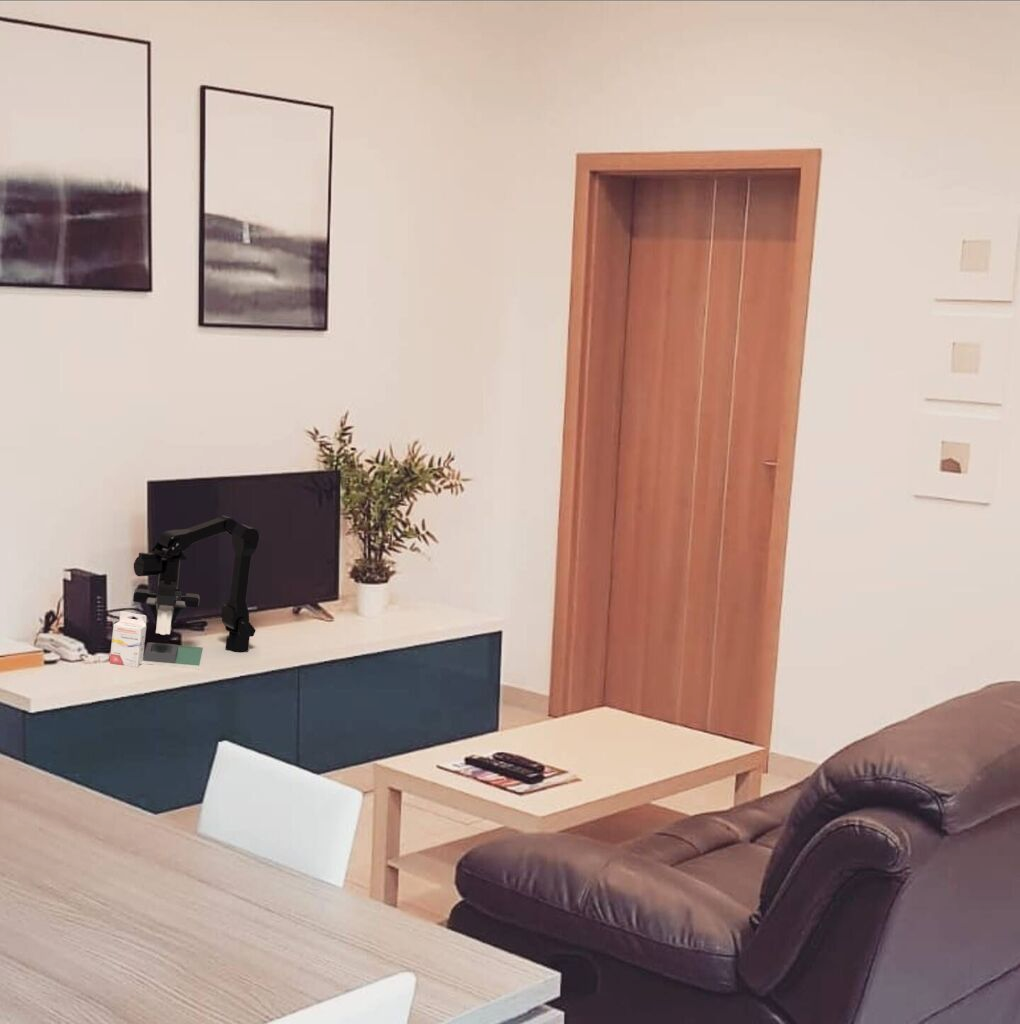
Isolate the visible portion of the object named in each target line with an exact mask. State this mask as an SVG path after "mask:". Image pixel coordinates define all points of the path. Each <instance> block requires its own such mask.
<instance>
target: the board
mask: <svg viewBox="0 0 1020 1024" xmlns="http://www.w3.org/2000/svg"><path fill="white" fill-rule="evenodd" d="M145 646H146V647H145V648H144V655H143V661H144V662H152V663H162V664H163V663H164V664H165V663H166V664H175V665H184V666H185V665H188V666H198V667H199V666H200V664H201V659H202V655H203V650H204V647H200V646H189V645H188V646H187V645H179V644H173V643H163V642H162V643H161V642H147V643H146V645H145ZM148 665H151V666H153V664H151V663H148Z"/></svg>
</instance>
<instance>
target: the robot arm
mask: <svg viewBox="0 0 1020 1024" xmlns="http://www.w3.org/2000/svg"><path fill="white" fill-rule="evenodd" d="M225 532H226V533H227V534H229V535H230V536H231V544H232V545H231V546H232V547H233V551H234V564H233V570H232V571H233V572H232V579H231V586H230V587H231V588H230V596H229V600H228V602H227V603H226V604H221V613H220V616H219V617H220V618H221V623H223V625H224V627H225V631H227V632H228V635H227V636H226V640H225V641H226V642H225V651H229V652H233V653H248V652H249V647H250V637H254V635H255V633H256V628H255V627H254V626H253V624H251V623H250V611H249V608H248V604H247V594H248V586H249V579H250V571H251V570H250V569H251V562H252V556H253V555H254V553H255V552H256V550H257V548H258V546H259V542H260V538H261V537H260V532H259V531H258V530H257V529H256V528H254V527H251V526H248V525H246V524H243V523H240V522H237V521H236V520H234V518H232V517H229V516H227V515H220V516H218V517H217V518H214V519H211V520H208V521H205V522H203V523H200V524H197V525H194V526H191V527H189V528H185V529H184V528H183V529H171V530H165V531H163V532H162V533H161V534H160V537H159V539H158V540H157V542H156V543H155V544H154V545H153V546H152V548H151V549H150V551H149V552H139V553H138V556H137V557H136V558H135V560H134V562H133V570H134V573H135V575H136V577H153V576H154V577H156V576H158V580H157V587H156V593H153V592H150V589H145V588H136V589H135V590H134V593H133V595H132V596H133V597H132V602H133V603H143V604H145V605H146V606H148V607H149V608H150V609H151V612H152V615H153V620H154V624H155V625H154V626H157V616H158V609H159V606H160V605H164V606H173V605H174V603H175V605H174V608H173V617H172V621H171V628H173V626H174V624H175V621H176V619H177V616H178V615H179V614H180V611H181V610H184V609H186V607H189V608H199V605H200V598H201V597H200V595H199V594H198V593H189V592H186V593H185V594H186V595H185V596H184V595H182V588H178V587H179V577H180V567H181V561H187V560H188V557H187V556H186V555H185V554H184V553H183V552H184V551H187V550H188V549H189V548H190V547H191V546H192V545H193V544H196V543H197V542H198V543H199V542H200V541H202V540H206V539H208V538H211V537H213V536H217V535H220V534H222V533H225Z"/></svg>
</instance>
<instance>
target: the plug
mask: <svg viewBox="0 0 1020 1024" xmlns="http://www.w3.org/2000/svg"><path fill="white" fill-rule="evenodd" d="M173 613H174V606H173V605H171V606H169V605H164V604H162V605H158V616H157V626H156V625H155V626H156V629H155V634H160V635H162V636H165V635H171V631H172V627H171V621H172V617H173Z"/></svg>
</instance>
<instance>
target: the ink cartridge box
mask: <svg viewBox="0 0 1020 1024" xmlns="http://www.w3.org/2000/svg"><path fill="white" fill-rule="evenodd" d="M129 617H130V618H129ZM131 617H134V618H136V619H133V618H131ZM112 626H113V628H112V636H111V645H110V656H109V664H113V665H119V666H124V665H125V666H124V667H130V666H132V667H131V668H136V667H137V668H139V667H140V666H141V665H142V662H143V661H144V652H145V646H146V645H145V644H146V634H147V615H145V614H139V613H133V612H129V611H123V610H121V611H120V612H119V621H117V622H116V623H114V624H113V625H112Z"/></svg>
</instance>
